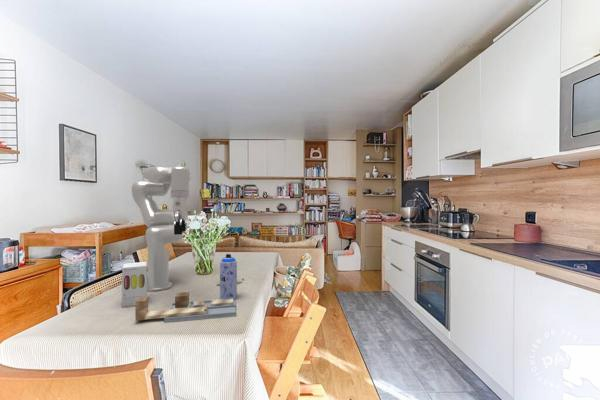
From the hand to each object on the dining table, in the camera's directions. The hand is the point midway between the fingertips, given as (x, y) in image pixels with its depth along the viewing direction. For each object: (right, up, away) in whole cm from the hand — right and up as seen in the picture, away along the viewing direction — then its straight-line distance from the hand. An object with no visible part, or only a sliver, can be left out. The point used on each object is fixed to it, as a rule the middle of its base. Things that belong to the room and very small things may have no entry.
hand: (180, 232), depth 130 cm
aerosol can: (+21, -31, +4) cm, 37 cm away
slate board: (+14, -31, -12) cm, 36 cm away
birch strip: (+5, -30, -18) cm, 35 cm away
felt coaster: (+5, -31, -10) cm, 32 cm away
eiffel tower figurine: (+16, -31, +28) cm, 45 cm away
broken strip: (+17, -31, -7) cm, 36 cm away
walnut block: (+5, -29, -10) cm, 31 cm away
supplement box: (-19, -31, -2) cm, 36 cm away
